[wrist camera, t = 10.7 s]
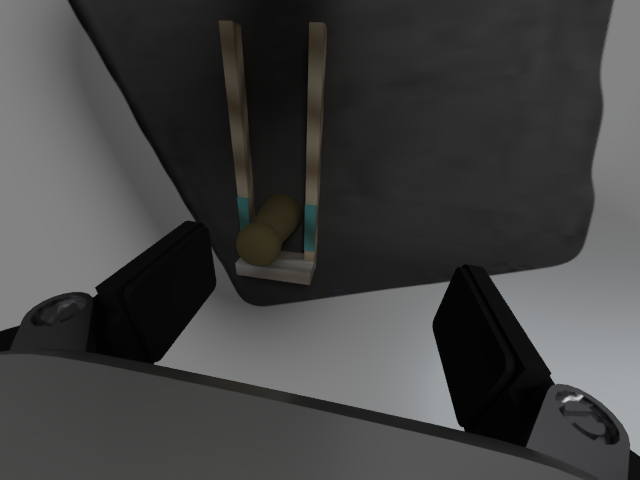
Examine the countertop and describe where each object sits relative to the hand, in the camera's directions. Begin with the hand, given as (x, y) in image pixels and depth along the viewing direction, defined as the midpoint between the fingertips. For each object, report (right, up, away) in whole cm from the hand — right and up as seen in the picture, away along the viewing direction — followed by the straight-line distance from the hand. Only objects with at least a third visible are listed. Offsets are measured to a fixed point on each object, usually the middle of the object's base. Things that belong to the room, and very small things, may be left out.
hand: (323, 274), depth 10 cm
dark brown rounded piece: (-6, +5, +29) cm, 30 cm away
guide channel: (-5, +11, +25) cm, 28 cm away
